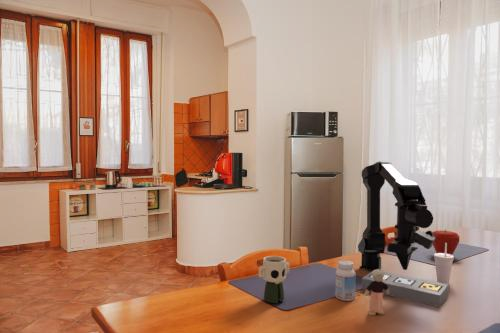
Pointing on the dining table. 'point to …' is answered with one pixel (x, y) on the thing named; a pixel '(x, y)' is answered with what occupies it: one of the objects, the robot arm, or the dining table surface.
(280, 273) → the character mug
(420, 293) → the button panel
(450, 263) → the smoothie
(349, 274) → the pill bottle
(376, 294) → the grandmother figurine
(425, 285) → the button three
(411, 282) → the button two
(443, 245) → the apple
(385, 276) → the button one
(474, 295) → the dining table surface
